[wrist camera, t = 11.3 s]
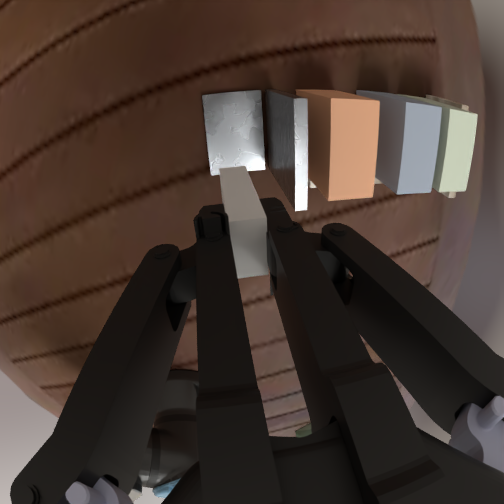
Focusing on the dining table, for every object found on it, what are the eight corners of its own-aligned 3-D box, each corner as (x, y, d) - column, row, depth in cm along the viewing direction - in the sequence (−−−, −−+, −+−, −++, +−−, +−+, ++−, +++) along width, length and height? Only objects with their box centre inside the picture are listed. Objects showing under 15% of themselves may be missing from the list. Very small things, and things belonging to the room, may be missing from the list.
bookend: (211, 174, 33) (214, 220, 24) (202, 95, 28) (199, 105, 19) (277, 166, 34) (307, 209, 24) (274, 89, 28) (307, 98, 19)
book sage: (391, 160, 35) (438, 192, 27) (396, 93, 30) (450, 108, 22) (417, 161, 35) (465, 191, 27) (423, 97, 30) (477, 114, 22)
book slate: (353, 161, 35) (396, 194, 26) (356, 90, 30) (406, 102, 21) (384, 160, 35) (430, 192, 27) (388, 92, 30) (441, 107, 22)
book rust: (297, 165, 34) (328, 200, 26) (295, 89, 29) (330, 98, 21) (333, 163, 34) (372, 197, 26) (334, 90, 29) (379, 100, 21)
